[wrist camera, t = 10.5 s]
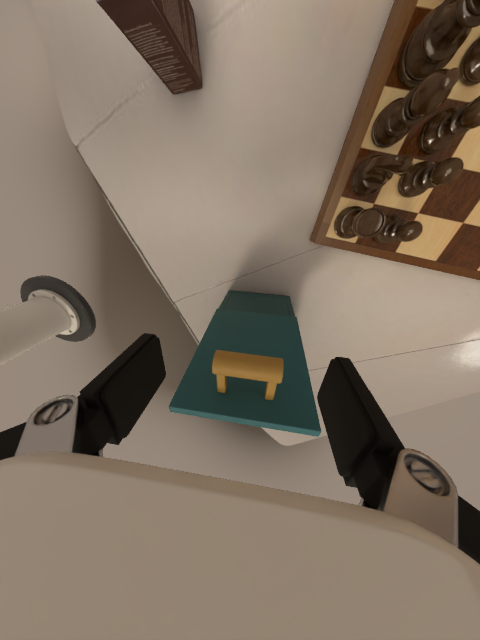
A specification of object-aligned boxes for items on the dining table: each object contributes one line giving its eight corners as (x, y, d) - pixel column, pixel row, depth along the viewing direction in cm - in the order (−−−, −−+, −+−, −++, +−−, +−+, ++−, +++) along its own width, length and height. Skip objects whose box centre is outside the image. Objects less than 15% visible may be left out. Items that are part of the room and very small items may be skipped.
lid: (318, 437, 13) (342, 397, 11) (170, 412, 15) (156, 370, 12) (295, 321, 26) (303, 289, 23) (217, 313, 27) (215, 281, 24)
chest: (277, 356, 41) (279, 387, 33) (227, 349, 42) (218, 378, 34) (289, 296, 34) (295, 317, 26) (228, 290, 35) (217, 309, 27)
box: (157, 22, 21) (43, -181, 10) (194, 11, 20) (112, -220, 10) (170, 98, 24) (92, 0, 13) (203, 91, 23) (148, -19, 12)
